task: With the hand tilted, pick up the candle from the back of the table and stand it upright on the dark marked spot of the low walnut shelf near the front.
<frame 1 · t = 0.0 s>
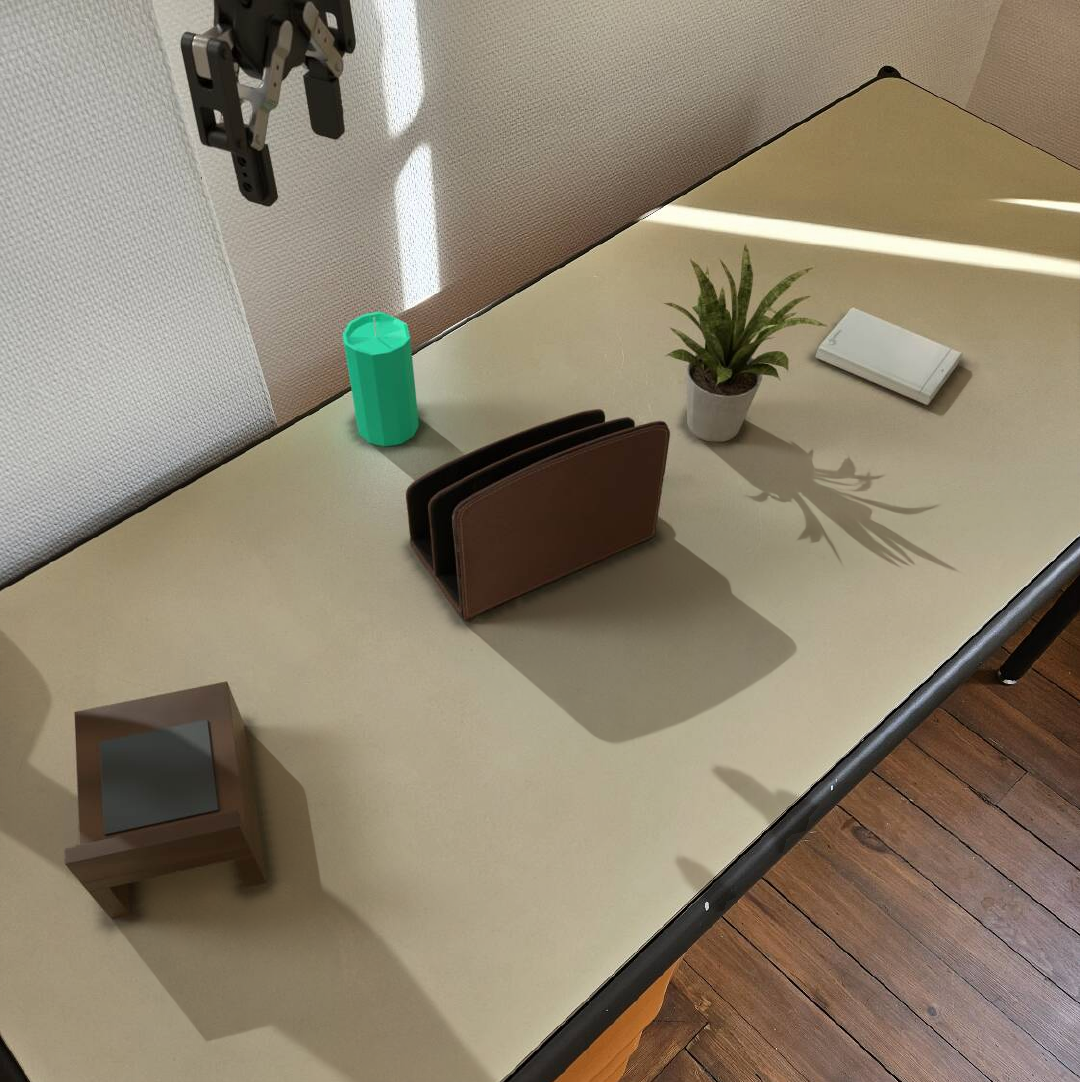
hand: (296, 167, 69), 32 cm above the table, tool pointing down, fingers open, 8 cm apart
shelf: (181, 816, 79), on the table
letter holder: (533, 544, 95), on the table
candle: (388, 426, 103), on the table
hard drive: (885, 362, 109), on the table
house plant: (727, 426, 104), on the table
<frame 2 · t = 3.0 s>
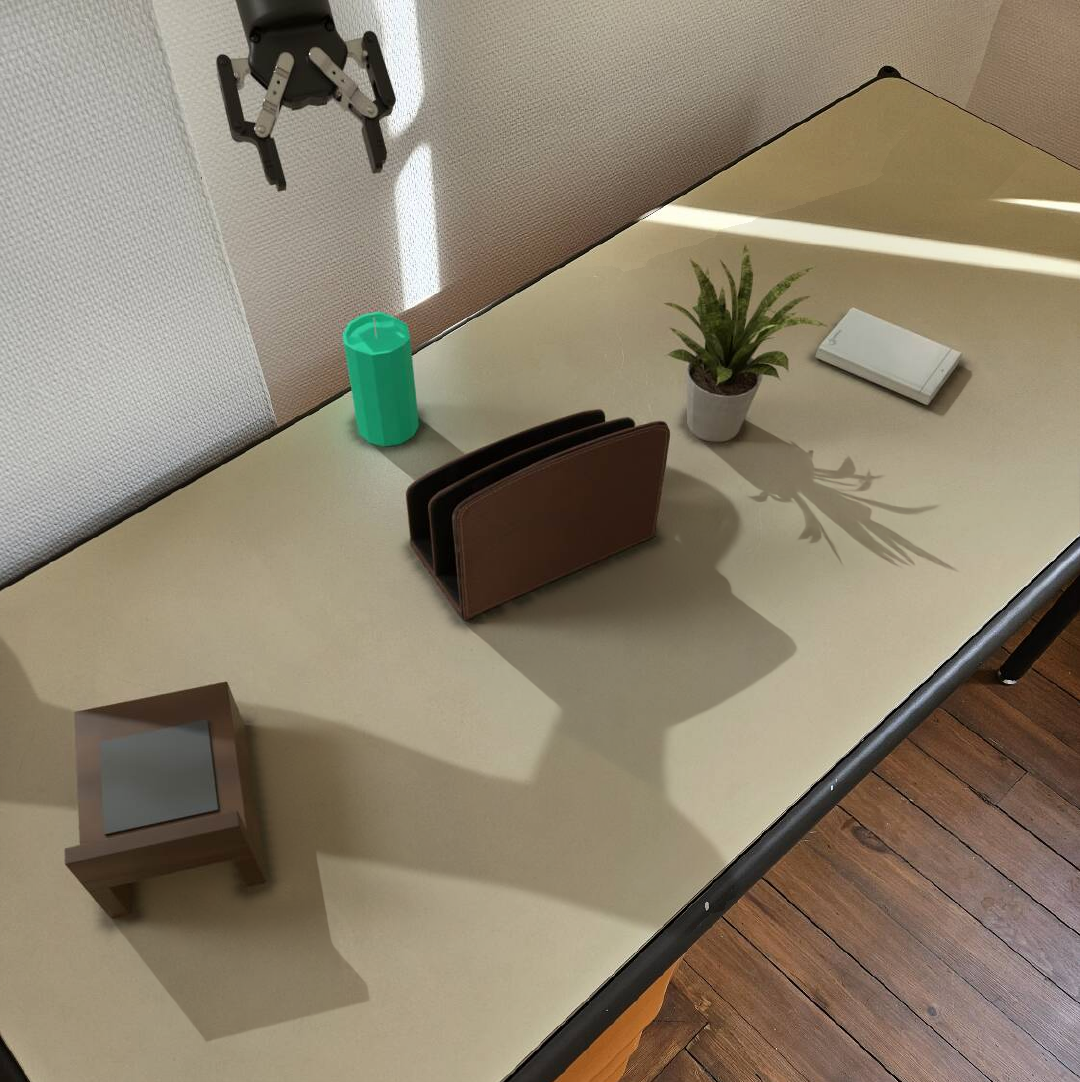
hand: (330, 179, 92), 19 cm above the table, tool tilted 45°, fingers open, 8 cm apart
nothing on the table moved.
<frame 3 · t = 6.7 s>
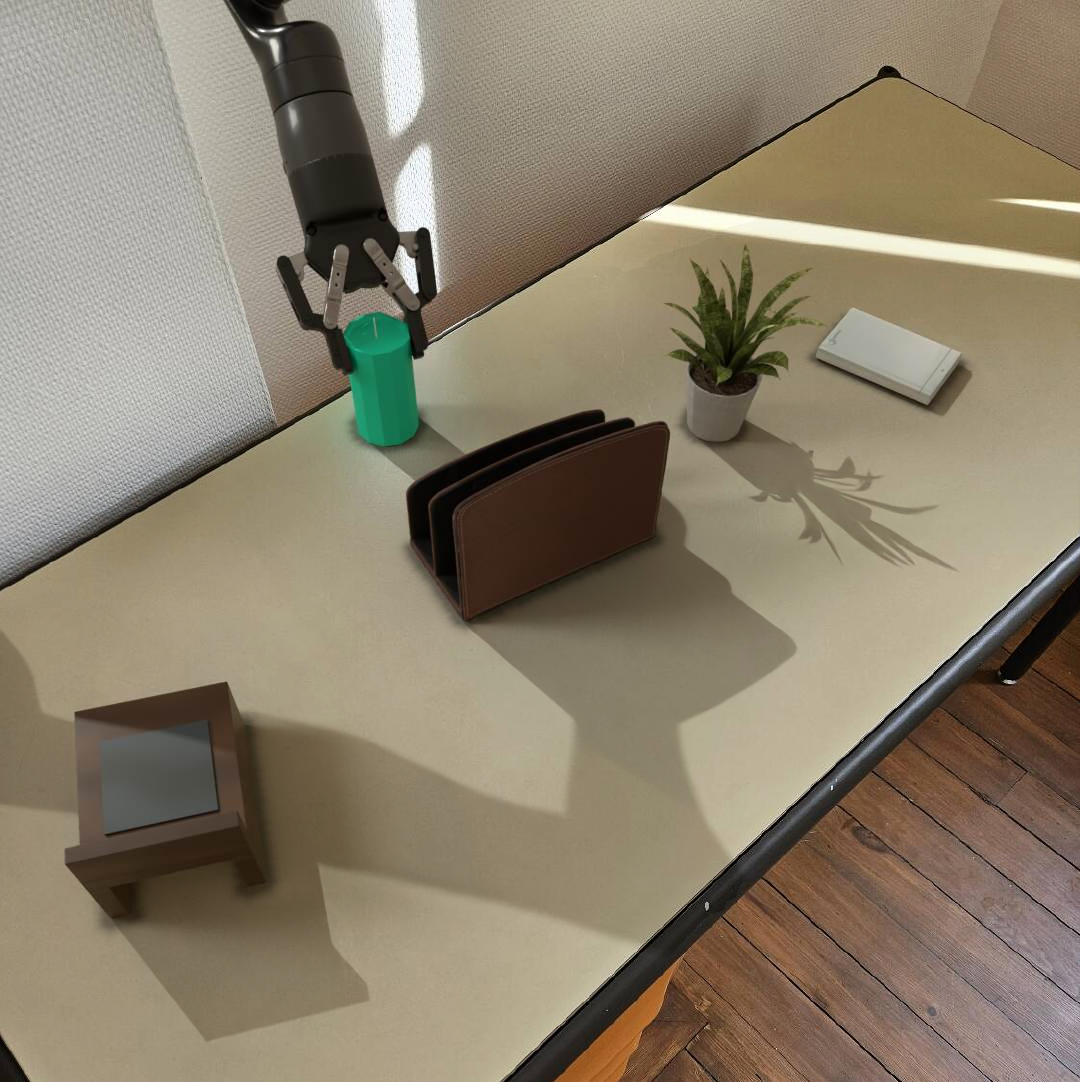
hand: (384, 365, 95), 8 cm above the table, tool tilted 45°, fingers closed on candle, 6 cm apart
candle: (388, 426, 103), on the table, touching gripper
everything else where it was.
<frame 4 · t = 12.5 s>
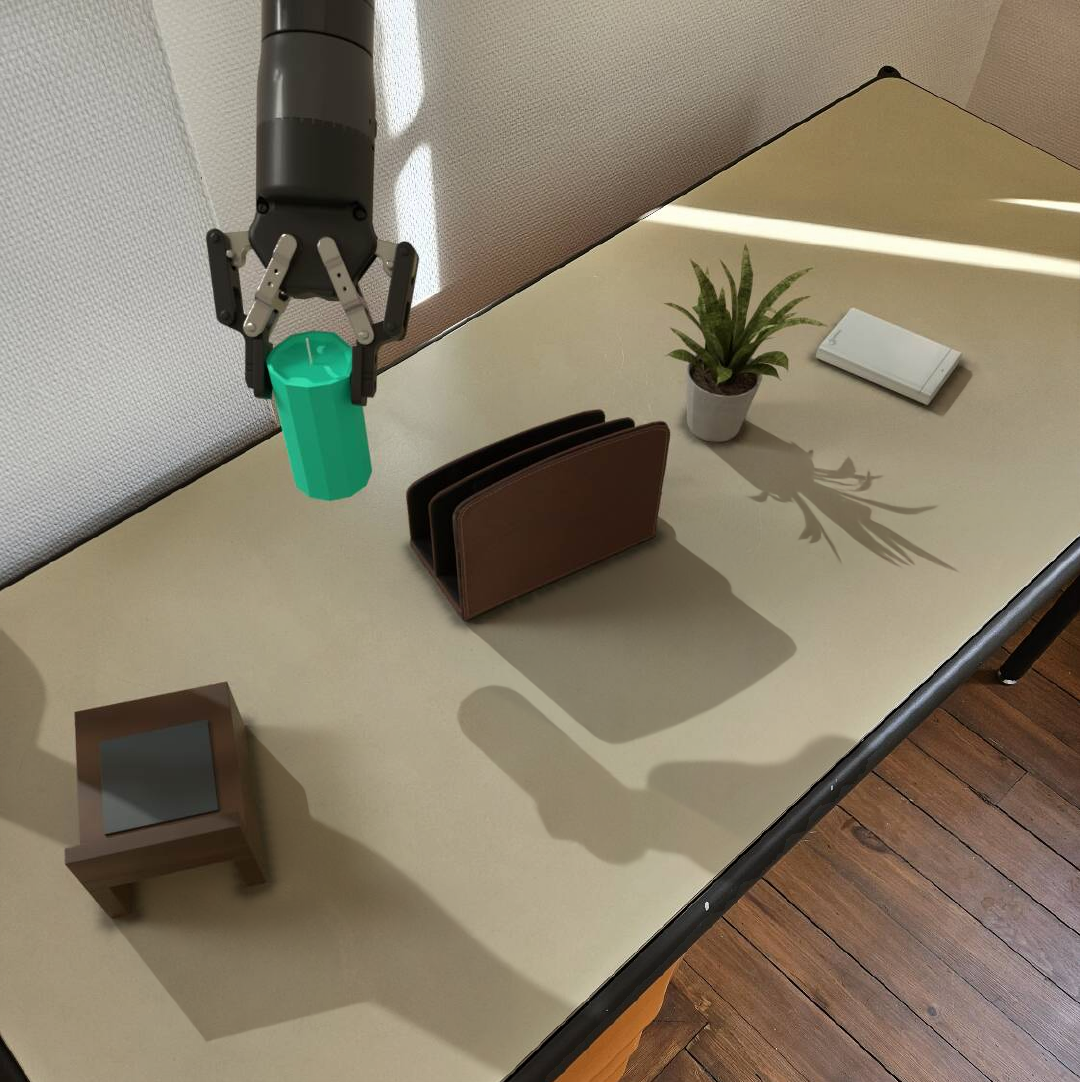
hand: (311, 401, 72), 22 cm above the table, tool tilted 45°, fingers closed on candle, 6 cm apart
candle: (332, 474, 80), point 13 cm above the table, touching gripper
everything else where it was.
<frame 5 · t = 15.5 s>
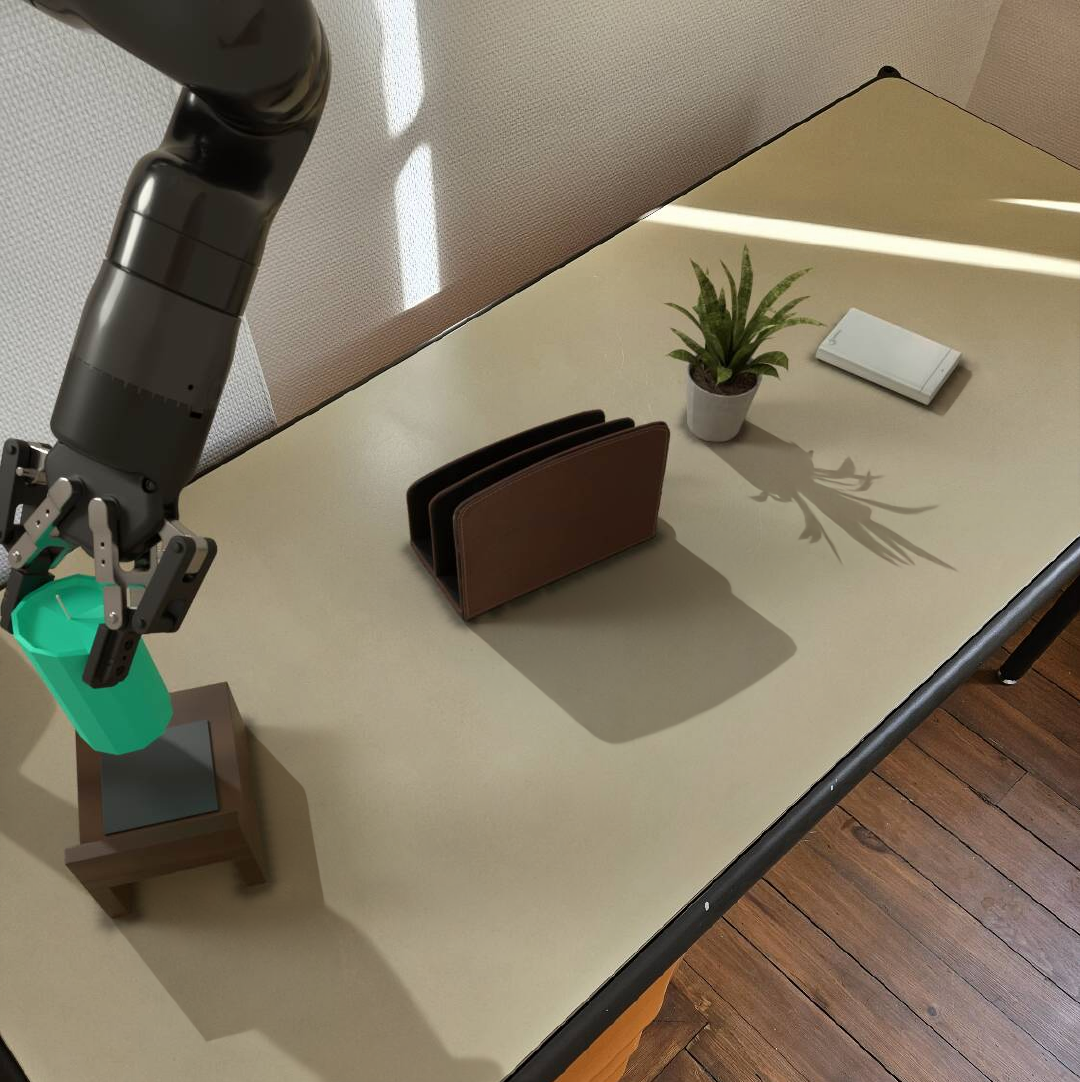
hand: (58, 657, 60), 22 cm above the table, tool tilted 45°, fingers closed on candle, 6 cm apart
candle: (126, 716, 68), point 13 cm above the table, touching gripper
everything else where it was.
when the fingers open (15 cm above the table, at t = 18.1 s): candle stays where it is, resting on shelf.
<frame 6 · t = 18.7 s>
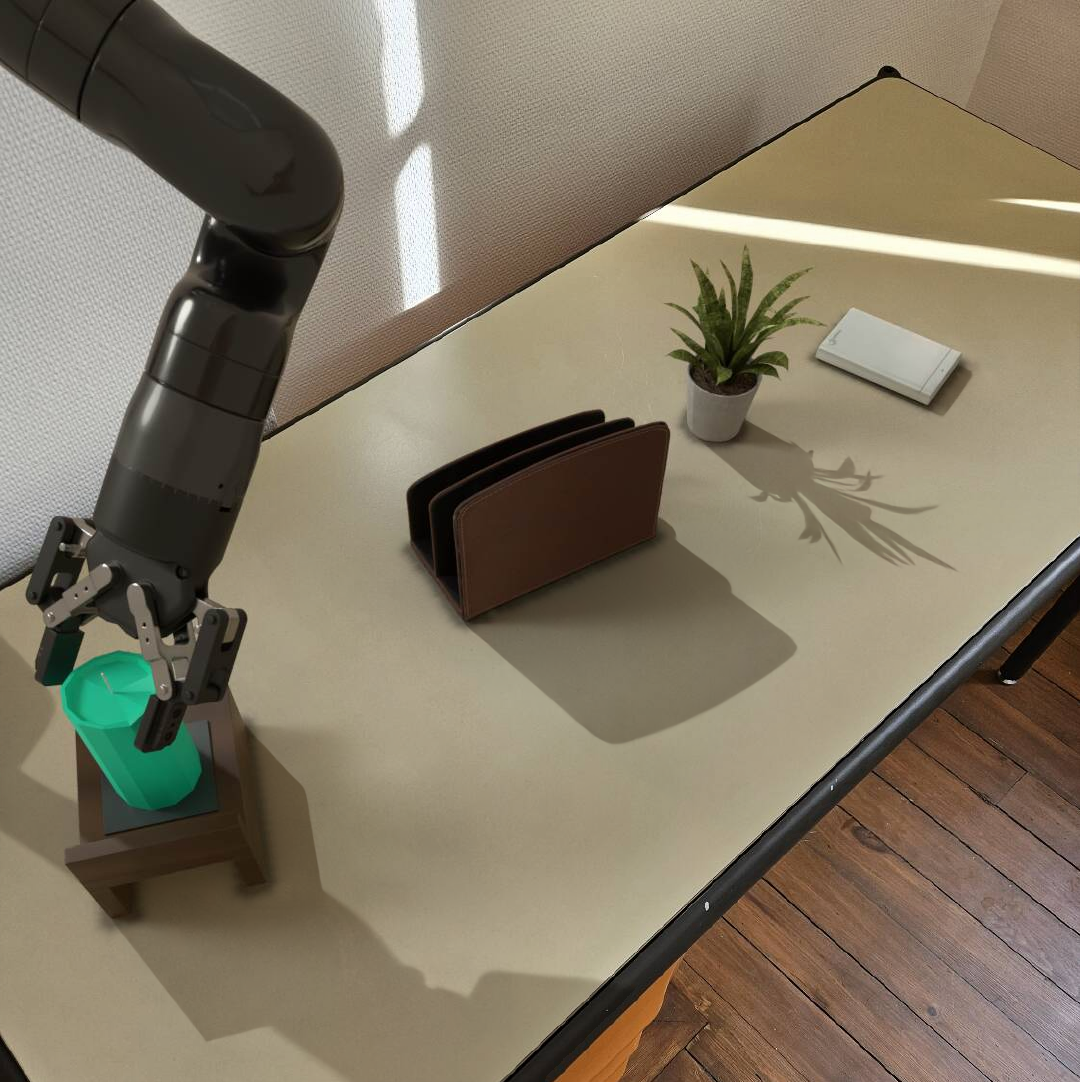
hand: (99, 715, 65), 16 cm above the table, tool tilted 45°, fingers open, 8 cm apart
candle: (159, 773, 74), point 6 cm above the table, touching shelf
everything else where it was.
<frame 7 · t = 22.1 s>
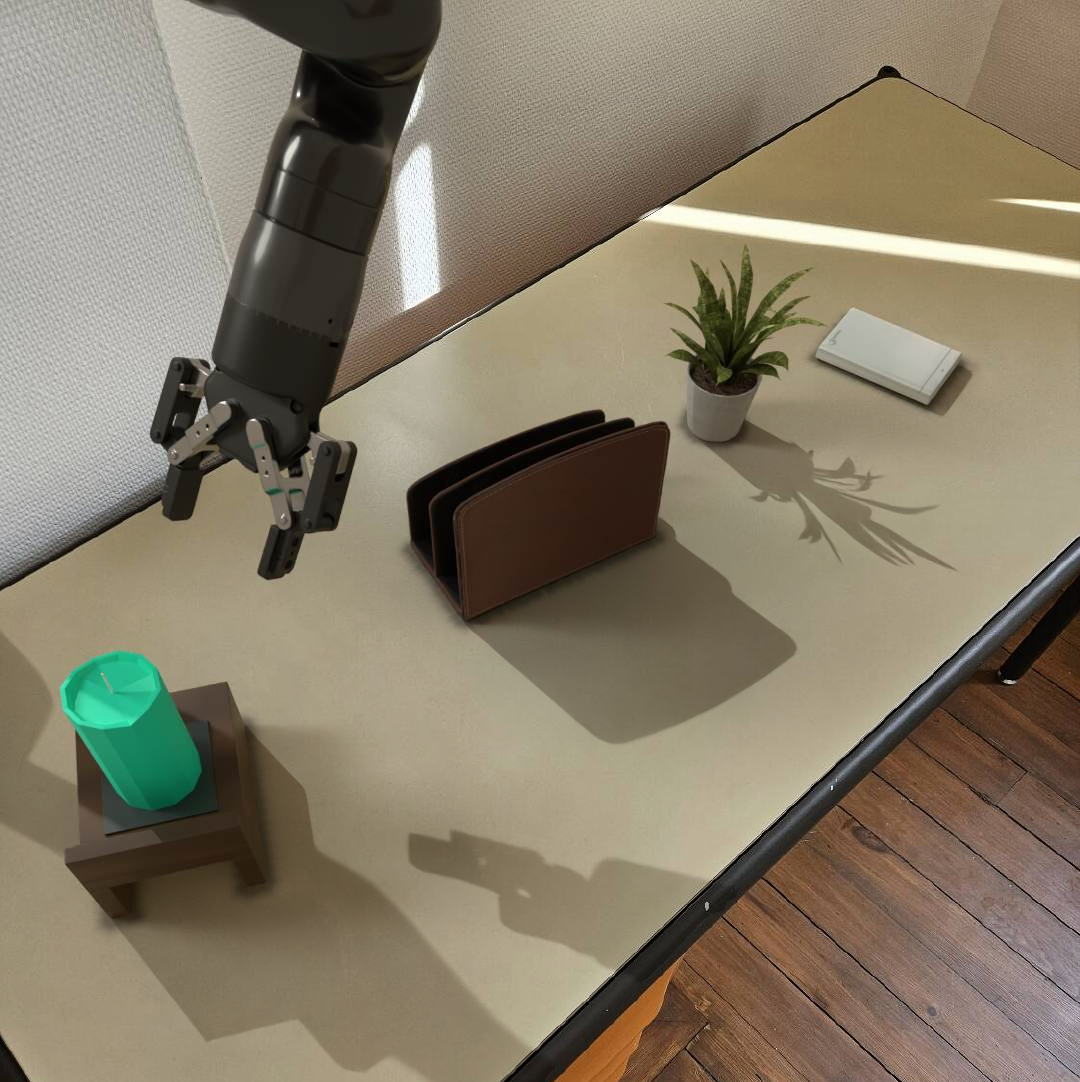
hand: (222, 547, 71), 17 cm above the table, tool tilted 35°, fingers open, 8 cm apart
nothing on the table moved.
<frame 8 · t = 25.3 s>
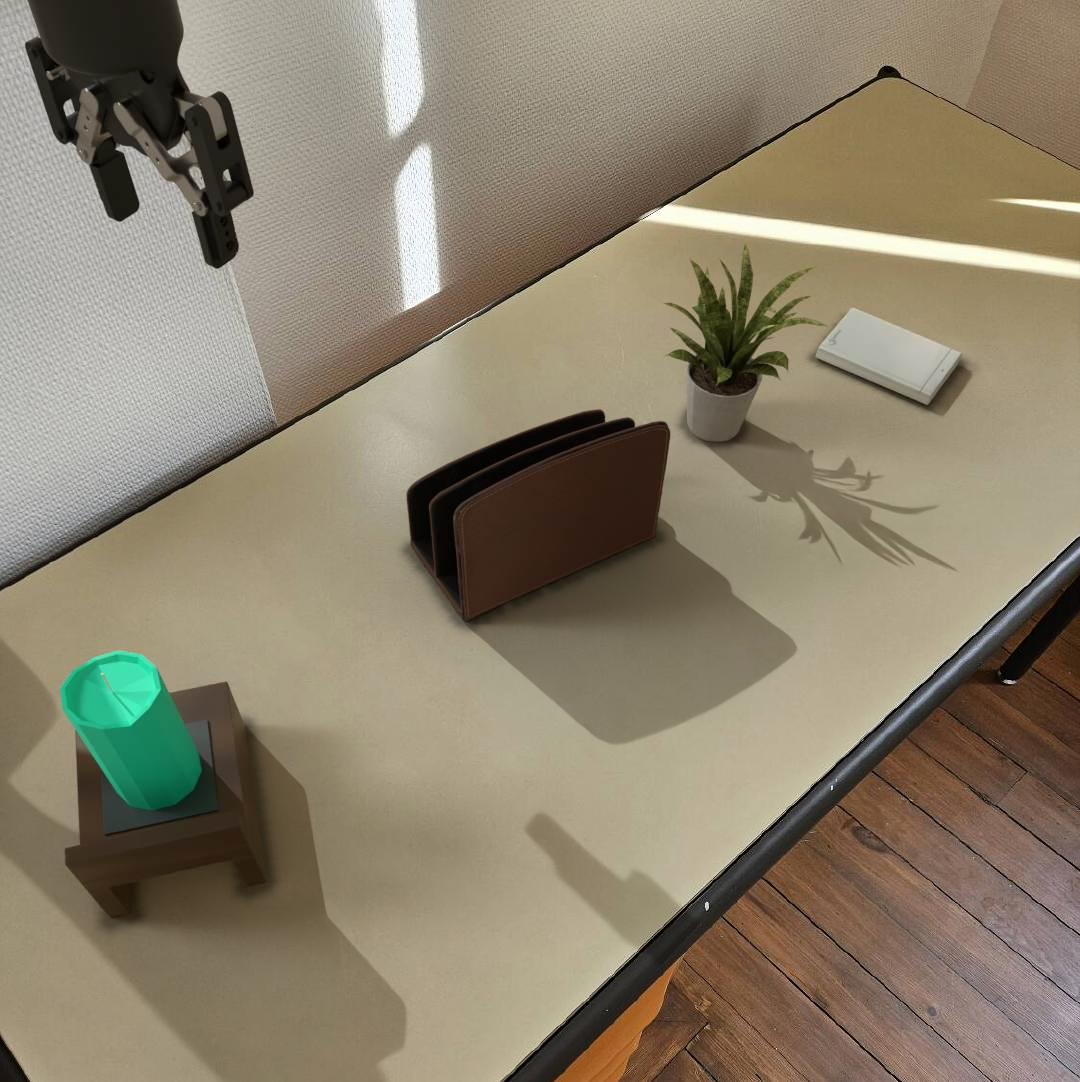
hand: (173, 237, 68), 30 cm above the table, tool pointing down, fingers open, 8 cm apart
nothing on the table moved.
at the end: candle inside the target area on the shelf (0.2 cm from its centre), point 6.0 cm above the shelf's base; candle tilted 0°; the gripper is holding nothing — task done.
